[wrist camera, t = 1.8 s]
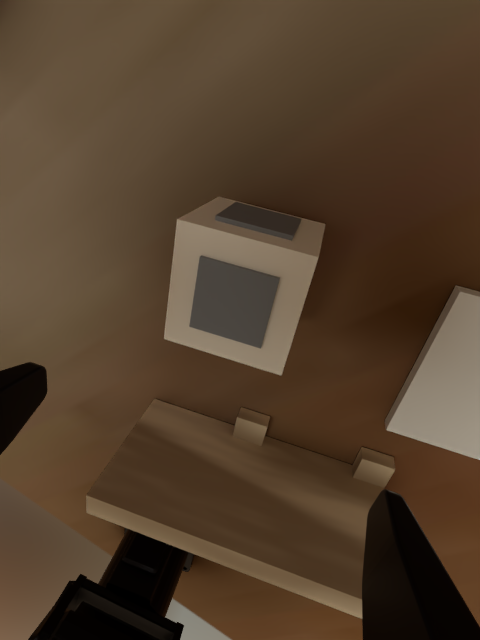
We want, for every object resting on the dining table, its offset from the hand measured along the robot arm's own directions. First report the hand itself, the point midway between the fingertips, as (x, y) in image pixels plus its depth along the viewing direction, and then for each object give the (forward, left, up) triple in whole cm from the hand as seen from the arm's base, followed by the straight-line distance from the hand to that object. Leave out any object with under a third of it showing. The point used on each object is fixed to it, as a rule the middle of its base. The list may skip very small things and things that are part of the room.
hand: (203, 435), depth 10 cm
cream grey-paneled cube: (0, +1, -12) cm, 12 cm away
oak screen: (-12, -2, -12) cm, 17 cm away
